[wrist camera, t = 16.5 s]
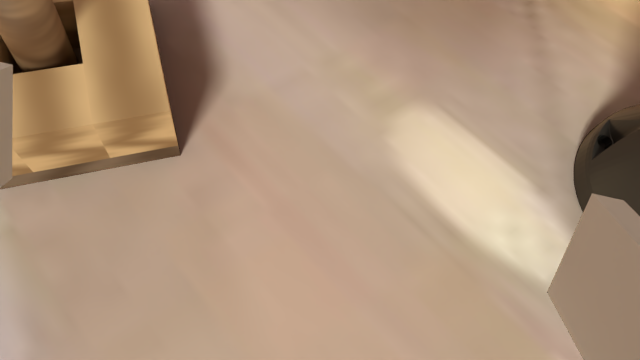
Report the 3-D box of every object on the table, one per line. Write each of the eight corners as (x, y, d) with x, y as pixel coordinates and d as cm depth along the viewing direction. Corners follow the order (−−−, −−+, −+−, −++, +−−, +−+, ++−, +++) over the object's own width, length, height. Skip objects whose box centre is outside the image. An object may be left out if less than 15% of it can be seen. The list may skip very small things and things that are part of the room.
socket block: (149, 4, 53) (135, -61, 46) (180, 155, 49) (170, 110, 41) (-44, 30, 50) (-93, -35, 42) (-31, 195, 45) (-83, 154, 38)
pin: (79, 54, 48) (36, -53, 37) (86, 96, 47) (44, -1, 36) (27, 61, 47) (-33, -45, 36) (33, 105, 46) (-27, 8, 35)
